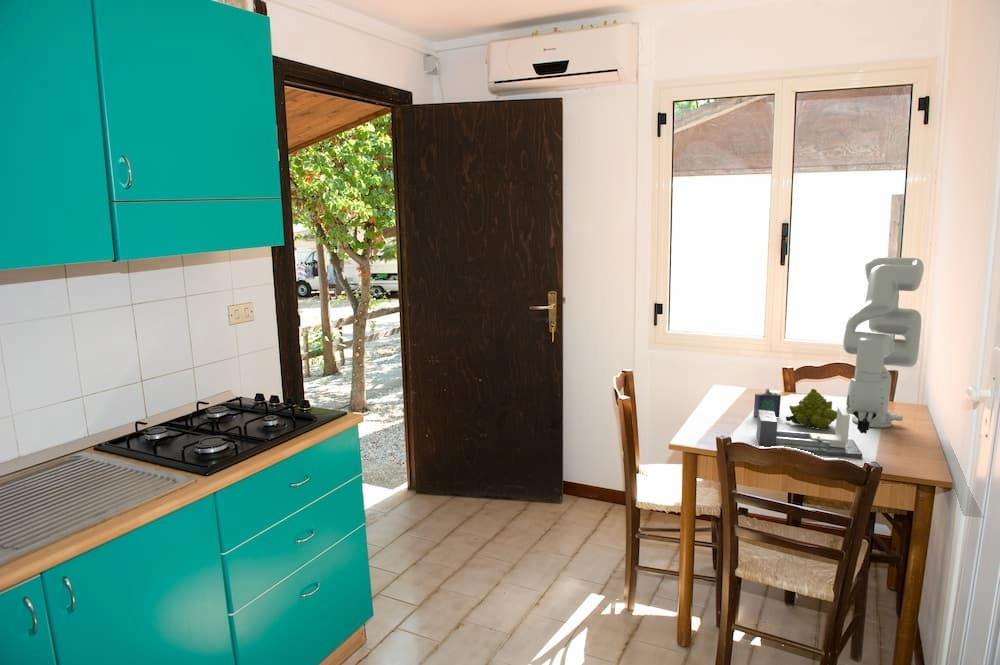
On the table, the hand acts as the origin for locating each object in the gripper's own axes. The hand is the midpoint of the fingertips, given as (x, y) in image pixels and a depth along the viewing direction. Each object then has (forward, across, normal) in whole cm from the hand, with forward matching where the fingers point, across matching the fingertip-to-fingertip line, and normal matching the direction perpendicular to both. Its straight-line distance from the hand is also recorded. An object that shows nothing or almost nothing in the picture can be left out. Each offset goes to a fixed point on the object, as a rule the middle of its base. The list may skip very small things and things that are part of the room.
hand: (862, 431), depth 211 cm
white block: (+5, +10, +1) cm, 11 cm away
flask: (+7, +26, -30) cm, 40 cm away
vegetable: (+7, +10, -23) cm, 26 cm away
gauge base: (+7, +16, 0) cm, 17 cm away
